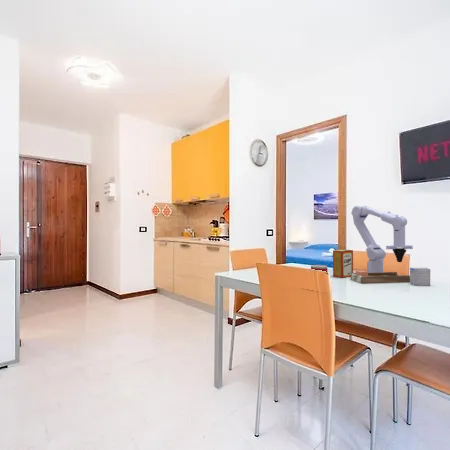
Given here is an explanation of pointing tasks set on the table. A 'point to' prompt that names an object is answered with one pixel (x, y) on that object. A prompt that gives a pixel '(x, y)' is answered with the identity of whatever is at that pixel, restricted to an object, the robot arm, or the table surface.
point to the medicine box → (420, 276)
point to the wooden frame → (380, 278)
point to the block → (362, 273)
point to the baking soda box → (342, 263)
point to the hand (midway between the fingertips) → (399, 261)
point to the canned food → (319, 267)
